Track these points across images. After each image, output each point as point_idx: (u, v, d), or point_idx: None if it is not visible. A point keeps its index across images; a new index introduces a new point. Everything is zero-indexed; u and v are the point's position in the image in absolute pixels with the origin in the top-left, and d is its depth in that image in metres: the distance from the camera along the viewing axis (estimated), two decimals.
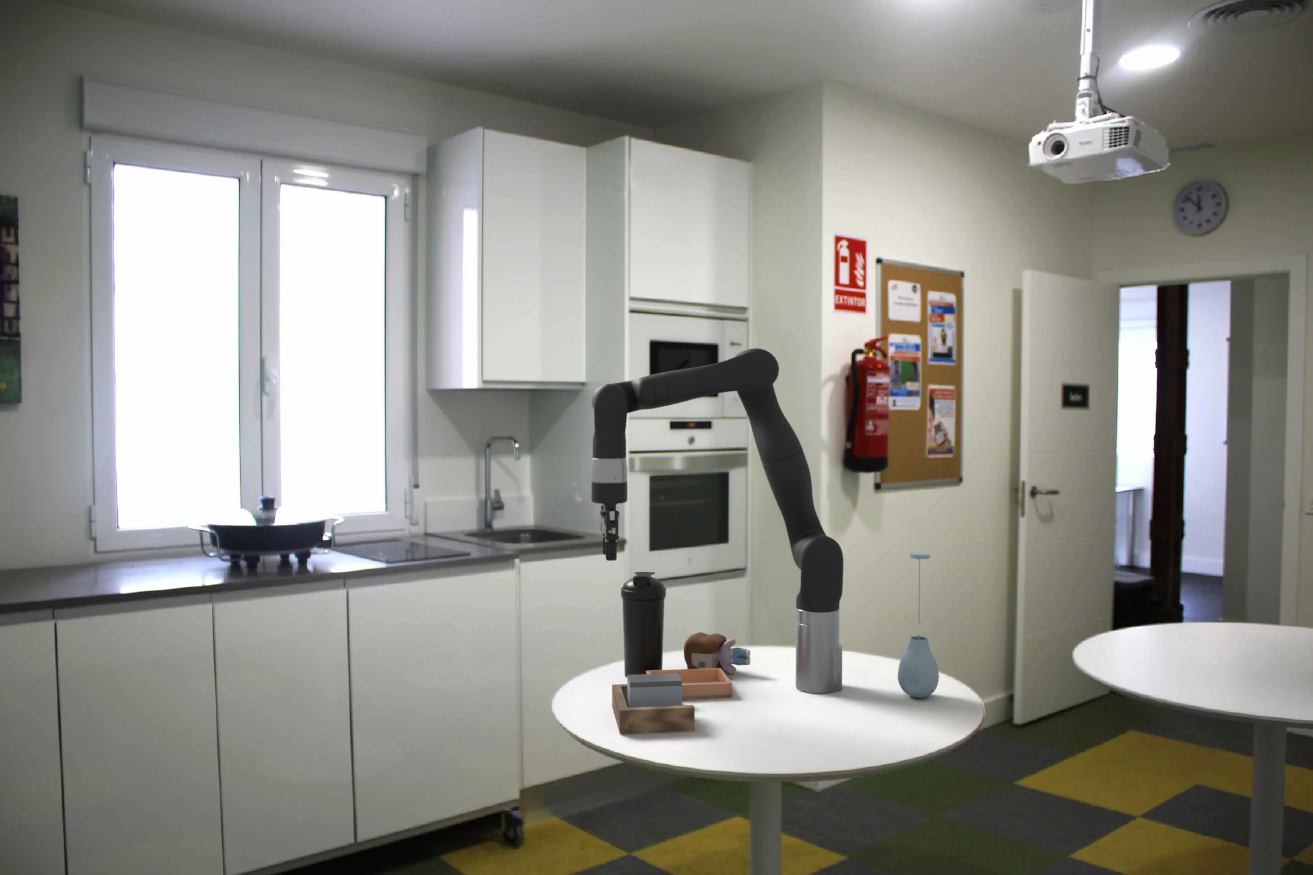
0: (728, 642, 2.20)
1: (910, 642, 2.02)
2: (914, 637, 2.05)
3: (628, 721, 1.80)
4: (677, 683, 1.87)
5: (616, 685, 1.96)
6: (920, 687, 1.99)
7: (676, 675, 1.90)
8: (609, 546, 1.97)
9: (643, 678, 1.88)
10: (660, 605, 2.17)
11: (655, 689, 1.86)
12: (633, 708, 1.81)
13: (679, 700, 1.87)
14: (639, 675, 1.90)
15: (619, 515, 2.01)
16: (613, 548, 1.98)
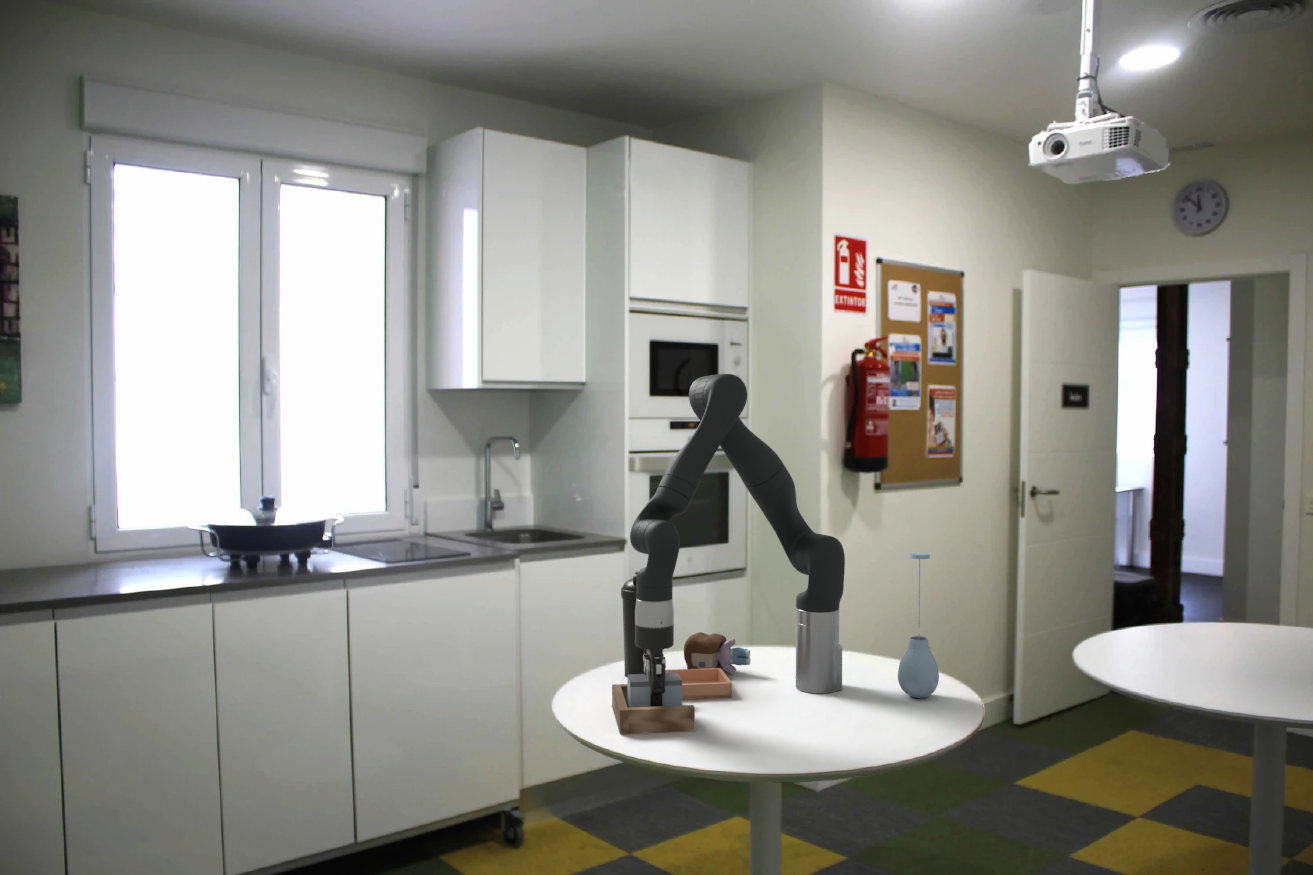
0: (728, 642, 2.20)
1: (910, 642, 2.02)
2: (914, 637, 2.05)
3: (628, 721, 1.80)
4: (677, 683, 1.87)
5: (616, 685, 1.96)
6: (920, 687, 1.99)
7: (676, 675, 1.90)
8: (654, 699, 1.85)
9: (644, 678, 1.88)
10: None
11: None
12: (633, 708, 1.81)
13: (680, 699, 1.87)
14: (639, 675, 1.90)
15: (665, 662, 1.87)
16: (659, 701, 1.85)
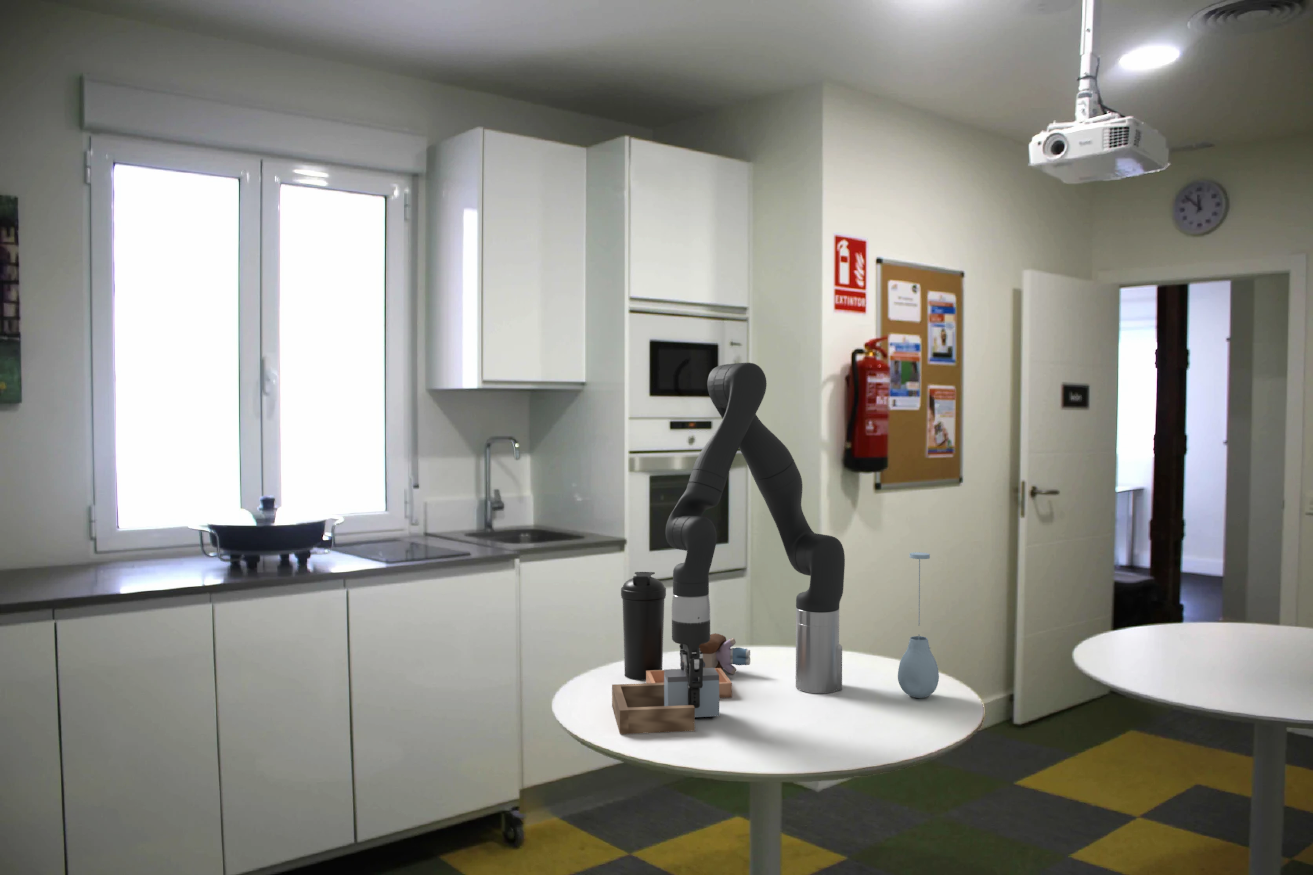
0: (728, 642, 2.20)
1: (910, 642, 2.02)
2: (914, 637, 2.05)
3: (628, 721, 1.80)
4: (714, 677, 1.88)
5: (616, 685, 1.96)
6: (920, 687, 1.99)
7: (713, 669, 1.92)
8: (692, 693, 1.86)
9: (681, 673, 1.89)
10: (660, 605, 2.17)
11: None
12: (633, 708, 1.81)
13: (717, 694, 1.88)
14: (676, 670, 1.92)
15: (702, 657, 1.88)
16: (696, 695, 1.86)
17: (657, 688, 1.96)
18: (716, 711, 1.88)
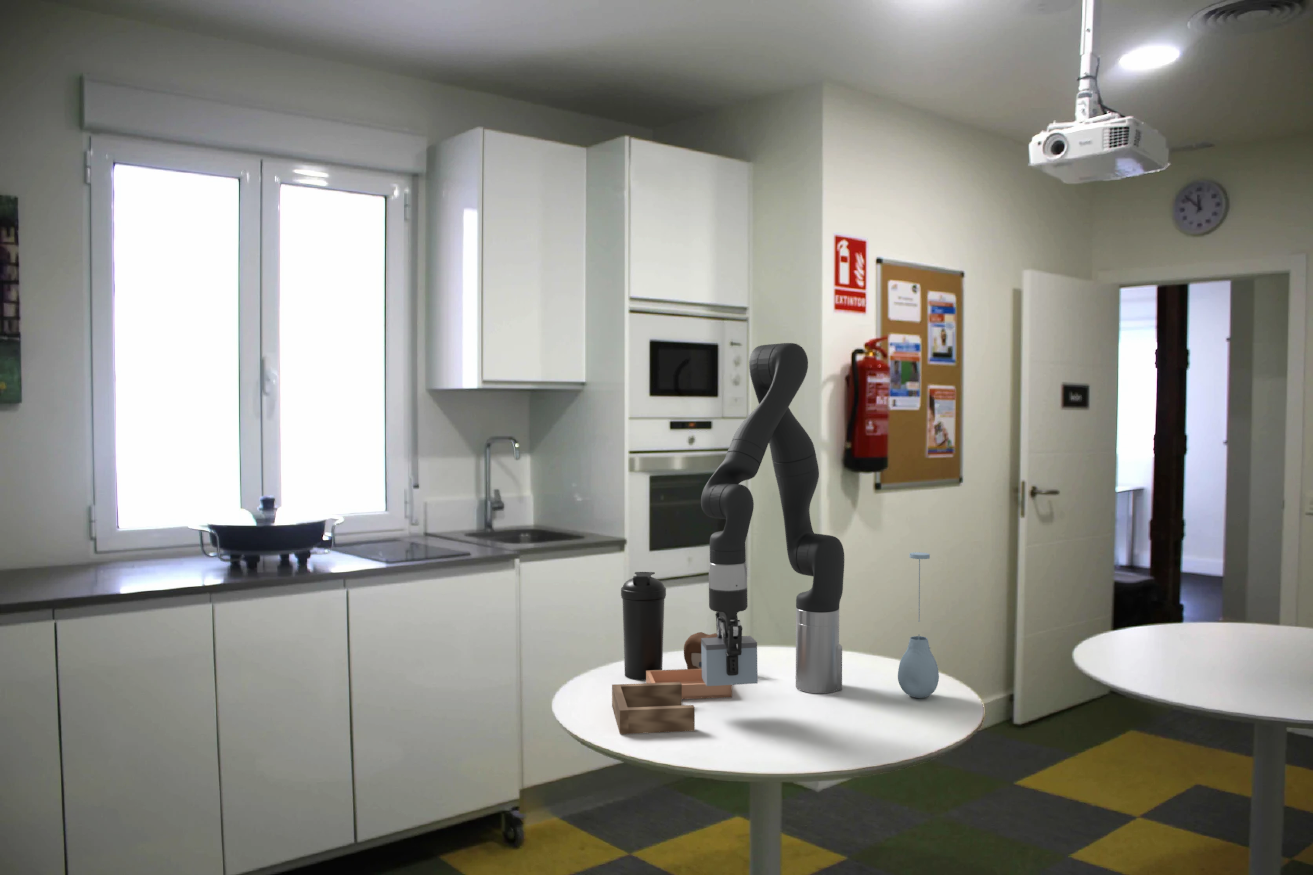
0: None
1: (910, 642, 2.02)
2: (914, 637, 2.05)
3: (628, 721, 1.80)
4: (752, 645, 1.88)
5: (616, 685, 1.96)
6: (920, 687, 1.99)
7: (750, 637, 1.92)
8: (731, 661, 1.87)
9: (718, 641, 1.90)
10: (660, 605, 2.17)
11: None
12: (633, 708, 1.81)
13: (755, 661, 1.89)
14: (713, 638, 1.92)
15: None
16: (735, 663, 1.87)
17: (657, 688, 1.96)
18: (755, 678, 1.89)
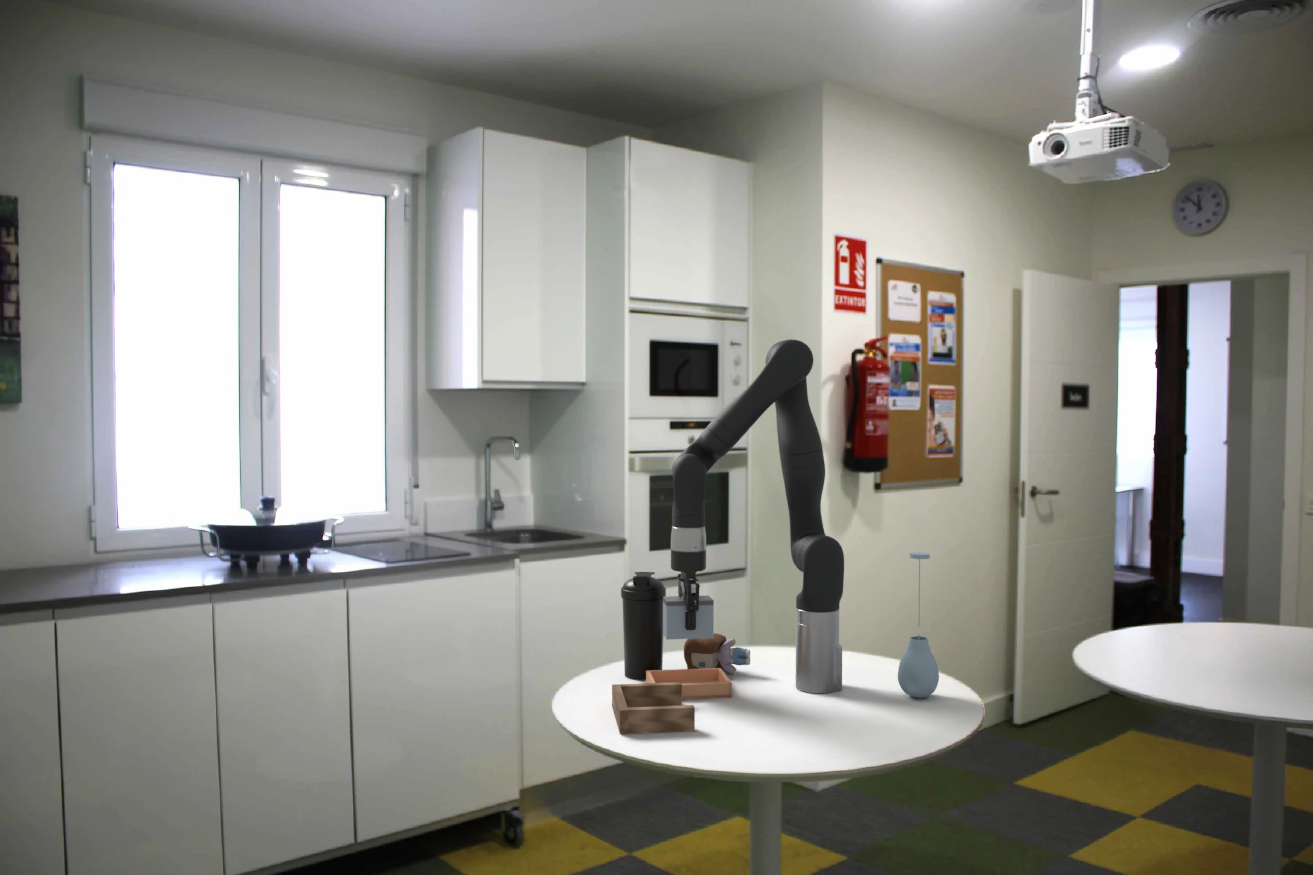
0: (728, 642, 2.20)
1: (910, 642, 2.02)
2: (914, 637, 2.05)
3: (628, 721, 1.80)
4: (709, 602, 2.05)
5: (616, 685, 1.96)
6: (920, 687, 1.99)
7: (708, 597, 2.09)
8: (689, 616, 2.03)
9: (678, 599, 2.06)
10: (660, 605, 2.17)
11: None
12: (633, 708, 1.81)
13: (711, 618, 2.05)
14: (674, 597, 2.09)
15: (698, 583, 2.05)
16: (693, 618, 2.03)
17: (657, 688, 1.96)
18: (711, 633, 2.05)
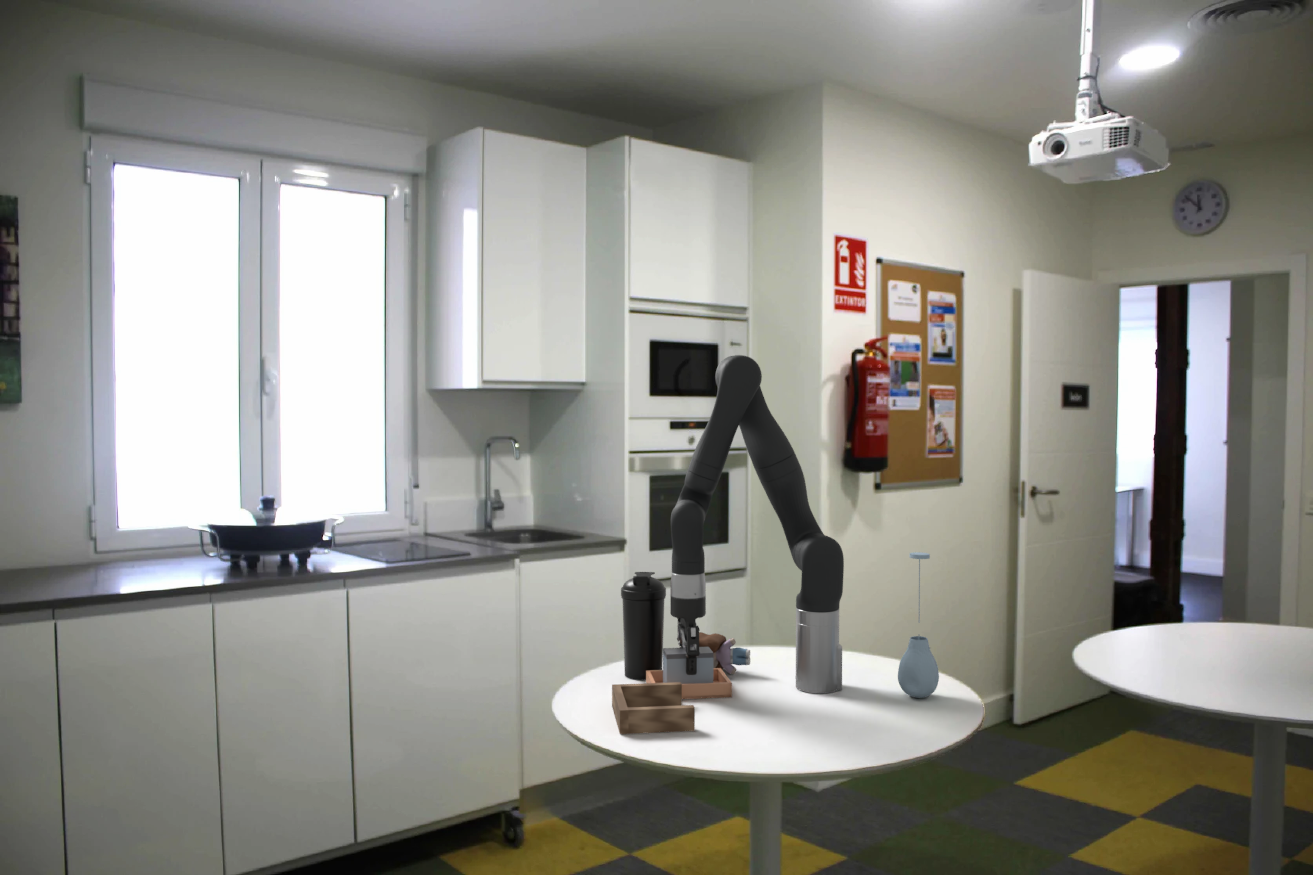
0: (728, 642, 2.20)
1: (910, 642, 2.02)
2: (914, 637, 2.05)
3: (628, 721, 1.80)
4: (709, 655, 2.05)
5: (616, 685, 1.96)
6: (920, 687, 1.99)
7: (707, 648, 2.09)
8: (690, 661, 2.02)
9: (678, 651, 2.06)
10: (660, 605, 2.17)
11: None
12: (633, 708, 1.81)
13: (711, 670, 2.05)
14: (674, 648, 2.09)
15: None
16: (693, 663, 2.02)
17: (657, 688, 1.96)
18: None
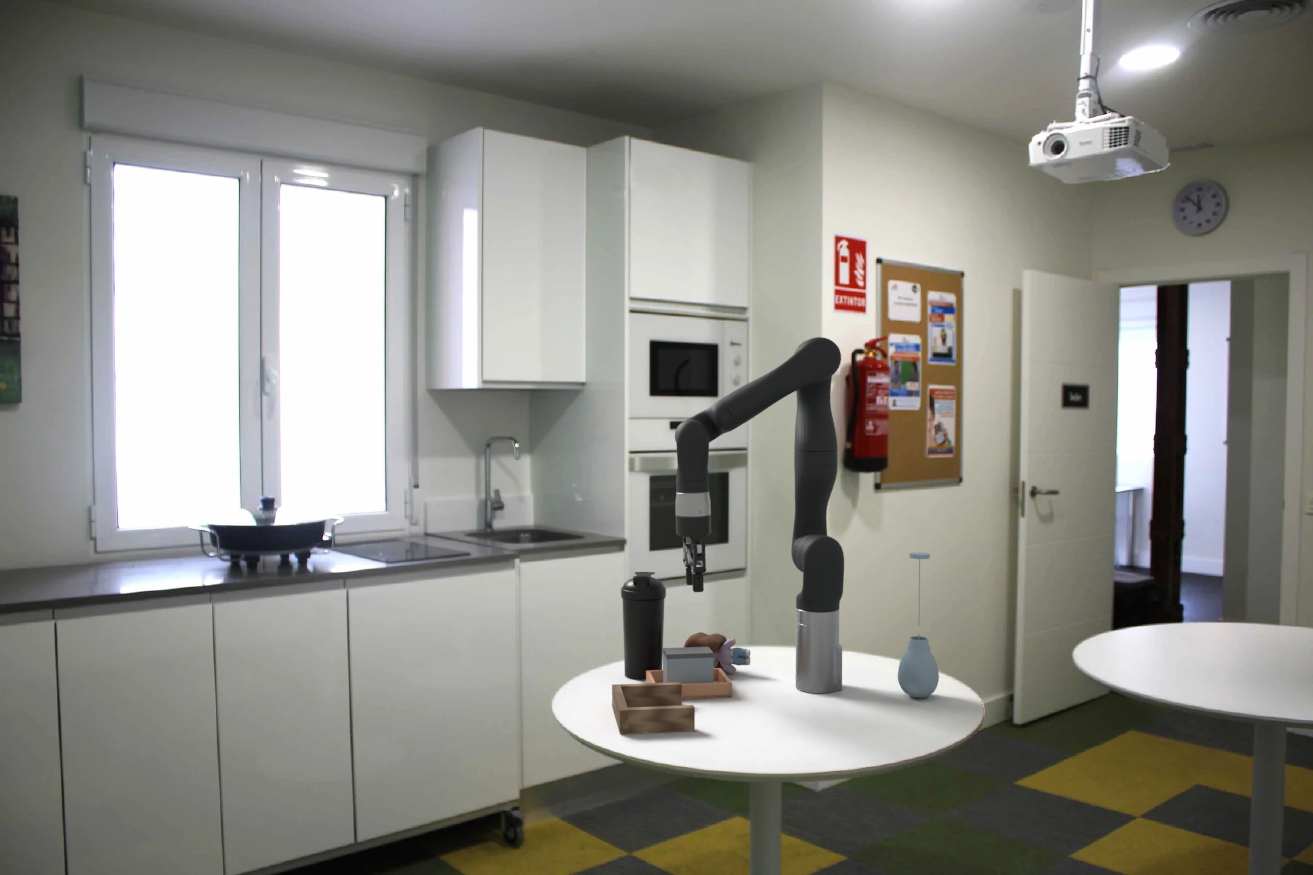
0: (728, 642, 2.20)
1: (910, 642, 2.02)
2: (914, 637, 2.05)
3: (628, 721, 1.80)
4: (709, 655, 2.05)
5: (616, 685, 1.96)
6: (920, 687, 1.99)
7: (707, 648, 2.09)
8: (696, 578, 2.03)
9: (678, 651, 2.06)
10: (660, 605, 2.17)
11: (689, 660, 2.05)
12: (633, 708, 1.81)
13: (711, 670, 2.05)
14: (674, 648, 2.09)
15: None
16: (700, 580, 2.03)
17: (657, 688, 1.96)
18: None
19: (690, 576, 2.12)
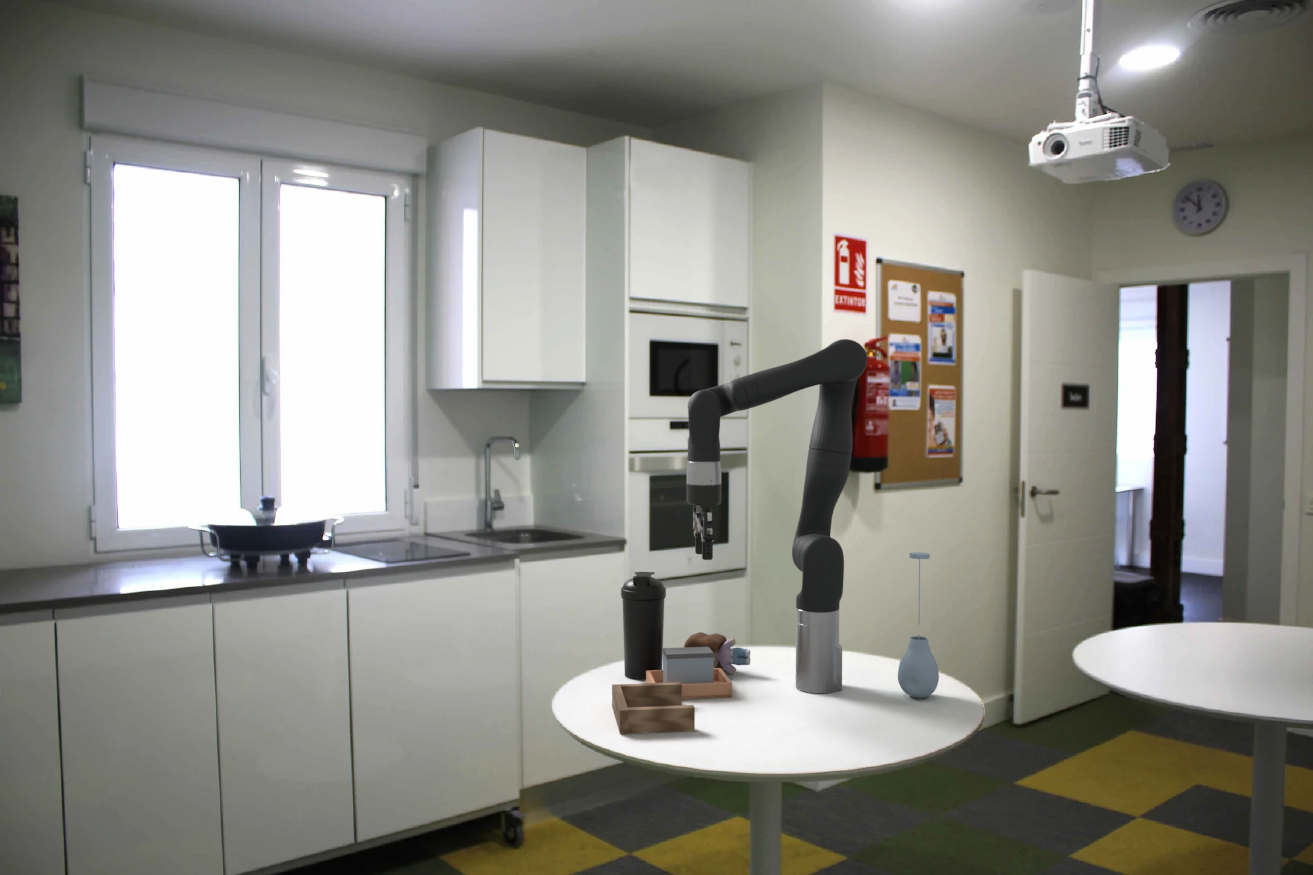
0: (728, 642, 2.20)
1: (910, 642, 2.02)
2: (914, 637, 2.05)
3: (628, 721, 1.80)
4: (709, 655, 2.05)
5: (616, 685, 1.96)
6: (920, 687, 1.99)
7: (707, 648, 2.09)
8: (706, 546, 2.05)
9: (678, 651, 2.06)
10: (660, 605, 2.17)
11: (689, 660, 2.05)
12: (633, 708, 1.81)
13: (711, 670, 2.05)
14: (674, 648, 2.09)
15: None
16: (710, 548, 2.06)
17: (657, 688, 1.96)
18: None
19: (699, 545, 2.15)
